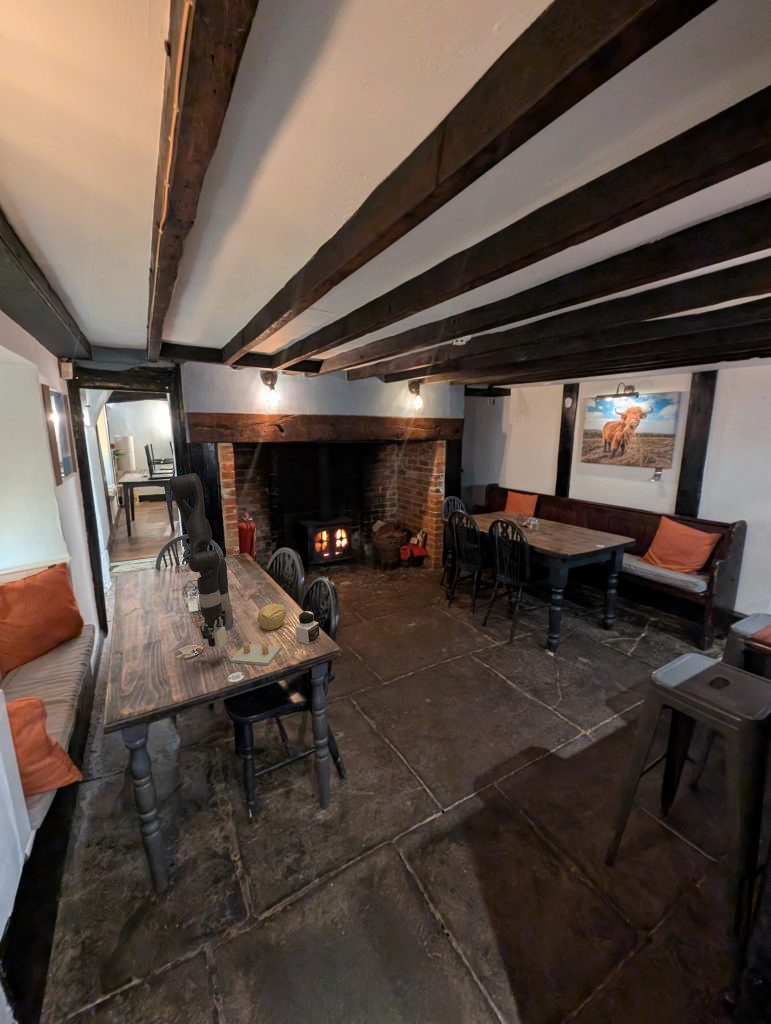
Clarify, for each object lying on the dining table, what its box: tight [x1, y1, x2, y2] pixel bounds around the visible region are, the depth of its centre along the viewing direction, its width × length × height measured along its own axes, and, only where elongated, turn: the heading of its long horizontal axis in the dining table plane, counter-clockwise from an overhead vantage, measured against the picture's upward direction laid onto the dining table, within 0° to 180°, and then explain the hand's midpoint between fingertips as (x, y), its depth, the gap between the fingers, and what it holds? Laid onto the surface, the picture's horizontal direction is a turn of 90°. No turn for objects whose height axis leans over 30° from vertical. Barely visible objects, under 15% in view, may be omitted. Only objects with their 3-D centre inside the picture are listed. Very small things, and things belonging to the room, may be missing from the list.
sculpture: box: [257, 602, 287, 631], centre depth 190 cm, size 12×12×11 cm
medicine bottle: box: [294, 611, 320, 645], centre depth 177 cm, size 7×7×12 cm
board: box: [229, 641, 283, 667], centre depth 166 cm, size 12×16×5 cm
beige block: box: [204, 627, 228, 649], centre depth 161 cm, size 5×5×6 cm
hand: (216, 641), depth 161 cm, fingers closed on beige block, 5 cm apart
